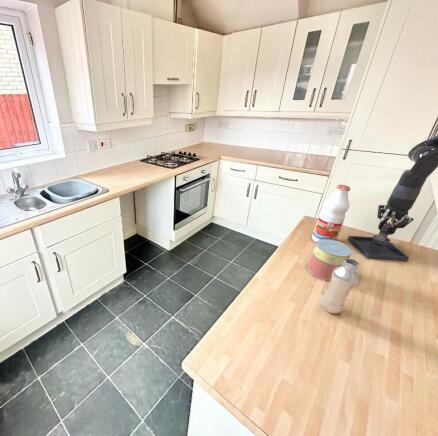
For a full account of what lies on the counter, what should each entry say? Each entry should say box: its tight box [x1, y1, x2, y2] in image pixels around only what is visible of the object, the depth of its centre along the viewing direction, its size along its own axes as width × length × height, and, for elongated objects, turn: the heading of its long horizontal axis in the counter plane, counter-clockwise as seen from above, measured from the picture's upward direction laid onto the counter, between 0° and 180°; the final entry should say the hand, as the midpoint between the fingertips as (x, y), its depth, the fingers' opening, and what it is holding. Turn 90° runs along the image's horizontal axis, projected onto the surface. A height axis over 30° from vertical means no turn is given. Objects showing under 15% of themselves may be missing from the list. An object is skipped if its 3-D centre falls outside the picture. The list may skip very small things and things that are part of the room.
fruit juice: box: [311, 184, 351, 243], centre depth 111 cm, size 9×9×28 cm
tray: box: [347, 235, 410, 262], centre depth 110 cm, size 15×15×2 cm
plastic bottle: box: [319, 258, 360, 315], centre depth 77 cm, size 6×7×20 cm
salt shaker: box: [370, 221, 391, 248], centre depth 106 cm, size 6×6×12 cm
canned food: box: [307, 239, 353, 281], centre depth 96 cm, size 11×11×12 cm
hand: (384, 231), depth 106 cm, fingers closed on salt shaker, 3 cm apart
